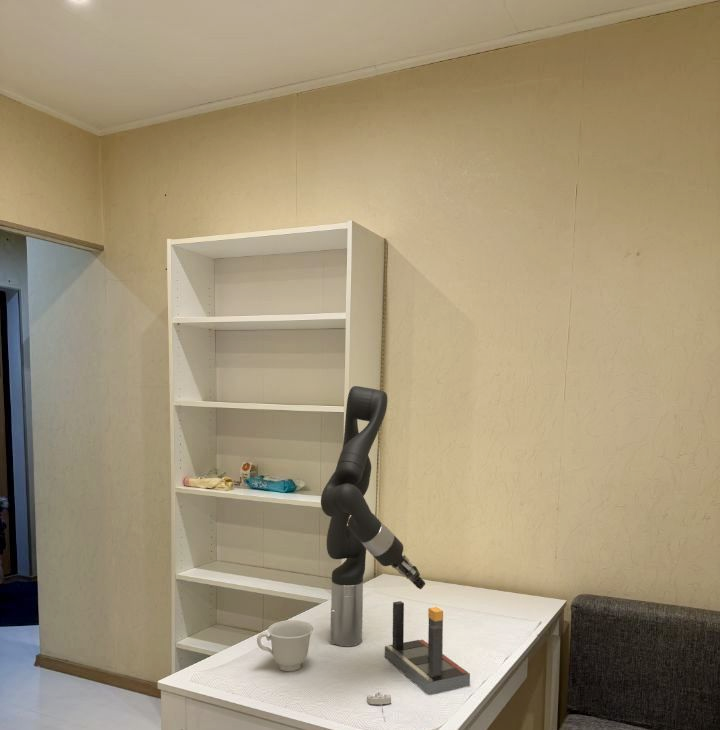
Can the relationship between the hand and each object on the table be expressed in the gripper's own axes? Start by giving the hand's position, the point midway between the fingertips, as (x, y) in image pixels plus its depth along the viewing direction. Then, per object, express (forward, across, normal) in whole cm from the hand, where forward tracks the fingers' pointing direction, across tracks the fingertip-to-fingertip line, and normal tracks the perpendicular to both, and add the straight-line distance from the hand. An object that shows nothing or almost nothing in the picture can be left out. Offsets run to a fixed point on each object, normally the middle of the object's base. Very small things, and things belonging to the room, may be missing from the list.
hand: (421, 585), depth 165 cm
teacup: (-6, +16, +39) cm, 42 cm away
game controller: (+3, -13, +29) cm, 32 cm away
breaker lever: (+16, 0, +10) cm, 19 cm away
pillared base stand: (+17, -1, +15) cm, 22 cm away
